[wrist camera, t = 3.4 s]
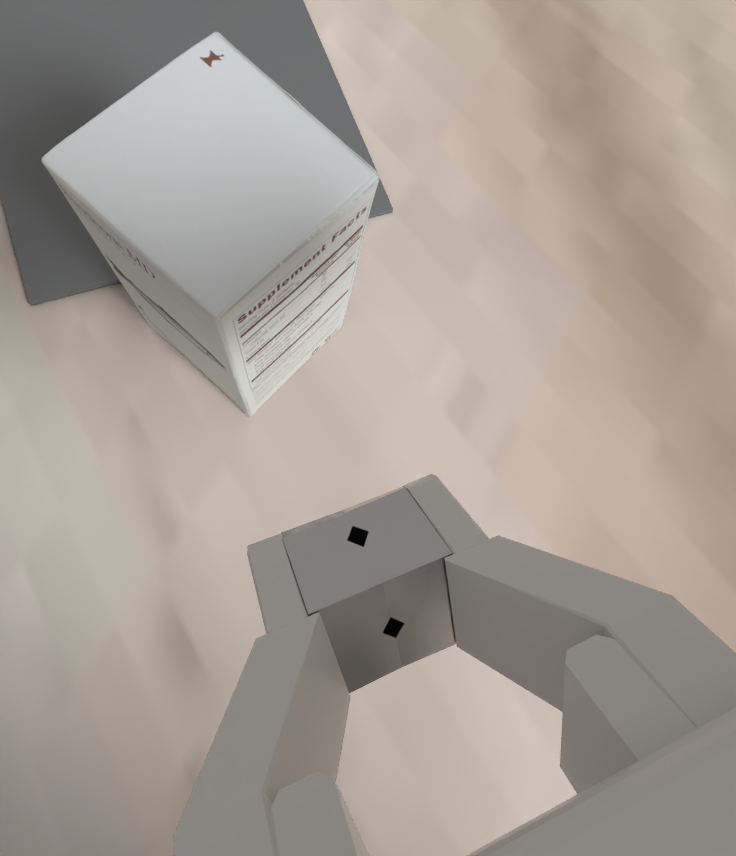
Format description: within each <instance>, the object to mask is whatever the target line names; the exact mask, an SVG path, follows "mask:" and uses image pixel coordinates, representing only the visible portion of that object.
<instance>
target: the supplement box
mask: <svg viewBox="0 0 736 856" xmlns="http://www.w3.org/2000/svg"><path fill="white" fill-rule="evenodd" d="M42 163H43V165H44V166H45V167H46V169H47V170H48V171H49V173H50V174H51V176H52V177H53V179H54V181H55V182H56V184H57V185H58V187H59V188H60V190H61V191H62V193H63V194H64V196H65V197H66V199H67V200H68V202H69V203H70V205H71V206H72V208H73V209H74V211H75V213H76V214H77V216H78V217H79V219H80V220H81V222H82V223H83V225H84V226H85V228H86V229H87V231H88V232H89V234H90V235H91V237H92V238H93V240H94V242H95V243H96V245H97V246H98V248H99V249H100V251H101V252H102V254H103V255H104V257H105V259H106V260H107V262H108V263H109V265H110V266H111V268H112V270H113V271H114V273H115V274H116V276H117V277H118V279H119V280H120V282H121V283H122V285H123V286H124V288H125V289H126V291H127V292H128V294H129V295H130V297H131V298H132V300H133V302H134V303H135V305H136V306H137V308H138V309H139V311H140V312H141V314H142V315H143V317H144V318H145V320H146V321H147V323H148V324H149V326H150V327H151V328H152V329H154V330H155V331H156V332H157V333H158V334H160V335H161V336H162V337H163V338H165V339H166V340H167V341H168V342H169V343H170V344H172V345H173V346H174V347H175V348H176V349H177V350H179V351H180V352H181V353H182V354H183V355H184V356H185V357H186V358H187V359H189V360H190V361H191V362H192V363H193V364H194V365H195V366H196V367H197V368H198V369H199V370H201V371H202V372H203V373H204V374H205V375H206V376H207V377H208V378H209V379H210V380H211V381H212V382H213V383H214V384H216V385H217V386H218V387H219V388H220V389H221V390H222V391H223V392H224V393H225V394H226V395H227V396H228V397H229V398H230V399H231V400H232V401H233V402H234V403H235V404H236V405H237V406H238V407H239V408H240V409H241V410H242V411H243V412H244V413H245V414H246V415H247V416H249V417H251V416H253V415H254V413H255V412H256V411H257V410H258V409H259V408H260V407H261V406H262V405H263V404H264V403H265V402H266V401H267V400H268V399H269V398H270V397H271V396H272V395H273V394H274V393H275V392H276V391H277V390H278V389H279V388H280V387H281V386H282V385H283V384H284V383H285V382H286V381H287V380H288V379H289V378H290V377H291V376H292V375H293V374H294V373H295V372H296V371H297V370H298V369H299V368H300V367H301V366H302V365H303V364H304V363H305V362H306V361H307V360H308V359H309V358H310V357H312V356H313V355H314V353H316V352H317V351H318V350H319V349H320V348H321V347H322V346H323V345H324V344H325V343H326V342H327V341H328V340H329V339H330V338H331V337H332V336H333V335H334V334H335V333H336V332H337V331H338V330H339V329H340V328H341V326H342V325H343V320H344V317H345V313H346V309H347V306H348V302H349V298H350V293H351V289H352V285H353V281H354V277H355V273H356V269H357V264H358V260H359V256H360V251H361V247H362V243H363V238H364V234H365V230H366V226H367V222H368V218H369V213H370V209H371V206H372V202H373V198H374V195H375V192H376V189H377V185H378V182H379V175H378V173H377V172H376V171H375V169H374V168H373V167H372V166H370V165H369V164H368V163H367V162H366V161H364V160H363V159H362V158H361V157H360V156H359V155H358V154H357V153H355V152H354V151H353V150H352V149H350V148H349V147H348V146H347V145H346V144H345V143H344V142H342V141H341V140H340V139H339V138H338V137H337V136H336V135H335V134H333V133H332V132H331V131H330V130H329V129H328V128H327V127H325V126H324V125H323V124H322V123H321V122H320V121H318V120H317V119H316V118H315V117H314V116H313V115H312V114H310V113H309V112H308V111H307V110H306V109H305V108H304V107H303V106H302V105H300V103H299V102H298V101H297V100H296V99H294V98H293V97H292V96H291V95H290V94H288V93H287V92H286V91H284V90H283V89H282V88H281V87H280V86H278V85H277V84H276V83H275V82H274V81H273V80H272V79H271V78H269V77H268V76H267V75H266V74H265V73H264V72H262V71H261V70H260V69H259V68H258V67H257V66H256V65H254V64H253V63H252V62H251V61H250V60H249V59H248V58H247V57H245V56H244V55H243V54H242V53H241V52H240V51H239V50H237V49H236V48H235V47H234V46H233V45H232V44H231V43H230V42H228V41H227V40H226V39H225V38H224V37H223V36H222V35H221V34H220V33H219V32H213V33H212V34H210V35H209V36H208V37H206V38H205V39H203V40H202V41H200V42H198V43H197V44H195V45H194V46H192V47H191V48H190V49H188V50H187V51H185V52H184V53H182V54H181V55H180V56H178V57H177V58H175V59H174V60H173V61H171V62H170V63H169V64H167V65H166V66H164V67H163V68H162V69H160V70H159V71H158V72H156V73H155V74H154V75H152V76H151V77H149V78H148V79H146V80H145V81H144V82H142V83H141V84H140V85H138V86H137V87H136V88H134V89H133V90H132V91H130V92H129V93H127V94H126V95H125V96H123V97H122V98H120V99H119V100H118V101H116V102H115V103H113V104H112V105H111V106H109V107H108V108H107V109H105V110H104V111H103V112H101V113H100V114H98V115H97V116H96V117H94V118H93V119H92V120H90V121H89V122H88V123H86V124H85V125H84V126H82V127H80V128H79V129H78V130H76V131H75V132H74V133H72V134H71V135H69V136H68V137H66V138H65V139H64V140H63V141H61V142H60V143H59V144H57V145H56V146H55V147H54V148H52V149H51V150H50V151H49V152H48V153H47V154H45V155H44V156H43V157H42Z"/></svg>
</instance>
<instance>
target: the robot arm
mask: <svg viewBox="0 0 736 856" xmlns="http://www.w3.org/2000/svg"><path fill="white" fill-rule="evenodd" d="M281 535H282V537H281ZM282 538H283V539H282ZM247 555H248V559H249V563H250V567H251V572H252V576H253V580H254V584H255V588H256V592H257V597H258V601H259V605H260V609H261V613H262V617H263V622H264V626H265V630H266V635H263V636H261V637H259V638H257V639H256V640H255V642H254V645H253V647H252V650H251V652H250V654H249V657H248V659H247V662H246V664H245V666H244V669H243V671H242V674H241V676H240V678H239V681H238V683H237V686H236V688H235V690H234V693H233V695H232V698H231V700H230V702H229V705H228V707H227V710H226V712H225V714H224V717H223V719H222V722H221V724H220V726H219V729H218V731H217V733H216V736H215V738H214V741H213V743H212V745H211V748H210V750H209V753H208V755H207V757H206V760H205V762H204V765H203V767H202V769H201V772H200V774H199V777H198V779H197V781H196V784H195V786H194V789H193V791H192V793H191V796H190V798H189V801H188V803H187V805H186V808H185V810H184V813H183V815H182V817H181V820H180V822H179V825H178V827H177V829H176V832H175V834H174V856H370V855H369V853H368V851H367V848H366V846H365V844H364V842H363V840H362V838H361V835H360V833H359V831H358V829H357V827H356V825H355V822H354V820H353V818H352V816H351V814H350V812H349V809H348V807H347V805H346V803H345V801H344V799H343V796H342V794H341V792H340V790H339V788H338V786H337V783H336V778H337V772H338V767H339V761H340V755H341V749H342V743H343V737H344V732H345V726H346V720H347V714H348V708H349V703H350V694H349V693H351V692H353V691H355V690H357V689H359V688H361V687H363V686H365V685H367V684H369V683H371V682H373V681H375V680H377V679H379V678H381V677H383V676H385V675H387V674H389V673H391V672H393V671H395V670H397V669H399V668H401V667H403V666H406V665H408V664H410V663H413V662H415V661H417V660H420V659H422V658H424V657H426V656H429V655H431V654H433V653H436V652H438V651H440V650H443V649H445V648H447V647H450V646H452V645H454V644H457V647H459V648H460V649H462V650H463V651H465V652H467V653H468V654H470V655H471V656H473V657H475V658H476V659H478V660H480V661H481V662H483V663H484V664H486V665H488V666H489V667H491V668H492V669H494V670H496V671H497V672H499V673H501V674H502V675H504V676H505V677H507V678H509V679H510V680H512V681H513V682H515V683H517V684H518V685H520V686H522V687H523V688H525V689H526V690H528V691H530V692H531V693H533V694H534V695H536V696H538V697H539V698H541V699H543V700H544V701H546V702H547V703H549V704H551V705H552V706H554V707H555V708H557V709H559V710H560V711H562V712H563V718H562V737H561V757H560V767H561V769H562V770H563V772H564V774H565V775H566V777H567V778H568V780H569V782H570V783H571V785H572V786H573V788H574V789H575V791H576V793H577V795H575V796H574V797H572V798H570V799H568V800H566V801H565V802H563V803H561V804H559V805H557V806H555V807H554V808H552V809H550V810H548V811H546V812H545V813H543V814H541V815H539V816H537V817H536V818H534V819H532V820H530V821H528V822H527V823H525V824H523V825H521V826H519V827H517V828H516V829H514V830H512V831H510V832H508V833H507V834H505V835H503V836H501V837H499V838H498V839H496V840H494V841H492V842H490V843H489V844H487V845H485V846H483V847H481V848H480V849H478V850H476V851H474V852H472V853H470V854H469V855H467V856H736V653H735V652H734V651H733V650H732V649H731V648H729V647H728V646H727V645H726V644H725V643H724V642H723V641H722V640H721V639H720V638H718V637H717V636H716V635H715V634H714V633H713V632H712V631H711V630H710V629H708V628H707V627H706V626H705V625H704V624H703V623H702V622H701V621H700V620H698V619H697V618H696V617H695V616H694V615H693V614H692V613H691V612H690V611H689V610H687V609H686V608H685V607H684V606H683V605H682V604H681V603H680V602H679V601H677V600H676V599H675V598H674V597H673V596H672V595H669V594H666V593H663V592H660V591H657V590H654V589H652V588H649V587H646V586H643V585H640V584H637V583H634V582H631V581H628V580H626V579H623V578H620V577H617V576H614V575H611V574H608V573H605V572H602V571H600V570H597V569H594V568H591V567H588V566H585V565H582V564H579V563H576V562H574V561H571V560H568V559H565V558H562V557H559V556H556V555H553V554H550V553H548V552H545V551H542V550H539V549H536V548H533V547H530V546H527V545H524V544H522V543H519V542H516V541H513V540H510V539H507V538H504V537H501V536H496V537H494V538H491V539H489V538H488V537H487V536H486V535H485V533H484V532H483V531H482V530H481V529H480V527H479V526H478V525H477V524H476V523H475V521H474V520H473V519H472V518H471V517H470V515H469V514H468V513H467V512H466V511H465V509H464V508H463V507H462V506H461V505H460V503H459V502H458V501H457V500H456V499H455V497H454V496H453V495H452V494H451V493H450V491H449V490H448V489H447V488H446V487H445V485H444V484H443V483H442V482H441V481H440V479H439V478H438V477H437V476H435V475H433V474H430V475H428V476H426V477H423V478H421V479H418V480H416V481H413V482H411V483H409V484H406V485H404V486H403V487H400V488H398V489H395V490H393V491H390V492H388V493H385V494H383V495H380V496H378V497H375V498H373V499H370V500H368V501H365V502H363V503H360V504H357V505H355V506H352V507H350V508H347V509H345V510H343V511H340V512H337V513H334V514H332V515H329V516H326V517H323V518H321V519H318V520H315V521H312V522H310V523H307V524H304V525H301V526H299V527H296V528H293V529H290V530H288V531H285V532H282V533H281V534H278V535H276V536H273V537H270V538H267V539H265V540H262V541H259V542H256V543H254V544H251V545H248V546H247Z"/></svg>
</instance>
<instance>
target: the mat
mask: <svg viewBox="0 0 736 856" xmlns="http://www.w3.org/2000/svg"><path fill="white" fill-rule="evenodd" d="M213 32H219V33H220V34H221V35H222V36H223V37H224V38H225V39H226V40H227V41H228V42H230V43H231V44H232V45H233V46H234V47H235V48H236V49H237V50H239V51H240V52H241V53H242V54H243V55H244V56H245V57H247V58H248V59H249V60H250V61H251V62H252V63H253V64H254V65H256V66H257V67H258V68H259V69H260V70H261V71H262V72H264V73H265V74H266V75H267V76H268V77H269V78H271V79H272V80H273V81H274V82H275V83H276V84H277V85H278V86H280V87H281V88H282V89H283V90H284V91H286V92H287V93H288V94H290V95H291V96H292V97H293V98H294V99H296V100H297V101H298V102H299V103H300V105H302V106H303V107H304V108H305V109H306V110H307V111H308V112H309V113H310V114H312V115H313V116H314V117H315V118H316V119H317V120H318V121H320V122H321V123H322V124H323V125H324V126H325V127H327V128H328V129H329V130H330V131H331V132H332V133H333V134H335V135H336V136H337V137H338V138H339V139H340V140H341V141H342V142H344V143H345V144H346V145H347V146H348V147H349V148H350V149H352V150H353V151H354V152H355V153H357V154H358V155H359V156H360V157H361V158H362V159H363V160H364V161H366V162H367V163H368V164H369V165H370V166H372V167H373V168H374V169H375V166H374V164H373V162H372V159H371V157H370V155H369V152H368V150H367V148H366V145H365V143H364V141H363V138H362V136H361V134H360V132H359V129H358V127H357V125H356V122H355V120H354V118H353V115H352V113H351V111H350V108H349V106H348V104H347V101H346V99H345V97H344V94H343V92H342V90H341V87H340V85H339V83H338V80H337V78H336V76H335V74H334V71H333V69H332V67H331V64H330V62H329V60H328V57H327V55H326V53H325V50H324V48H323V46H322V43H321V41H320V39H319V36H318V34H317V32H316V29H315V27H314V25H313V23H312V20H311V18H310V16H309V13H308V11H307V9H306V6H305V4H304V2H303V0H0V197H1V201H2V205H3V209H4V212H5V216H6V220H7V224H8V227H9V231H10V235H11V239H12V242H13V246H14V250H15V254H16V258H17V261H18V265H19V269H20V273H21V276H22V280H23V284H24V288H25V291H26V295H27V299H28V303H29V304H30V305H35V304H39V303H43V302H46V301H50V300H54V299H58V298H62V297H66V296H70V295H74V294H77V293H81V292H85V291H89V290H93V289H97V288H101V287H105V286H109V285H112V284H116V283H120V280H119V279H118V277H117V276H116V274H115V273H114V271H113V270H112V268H111V266H110V265H109V263H108V262H107V260H106V259H105V257H104V255H103V254H102V252H101V251H100V249H99V248H98V246H97V245H96V243H95V242H94V240H93V238H92V237H91V235H90V234H89V232H88V231H87V229H86V228H85V226H84V225H83V223H82V222H81V220H80V219H79V217H78V216H77V214H76V213H75V211H74V209H73V208H72V206H71V205H70V203H69V202H68V200H67V199H66V197H65V196H64V194H63V193H62V191H61V190H60V188H59V187H58V185H57V184H56V182H55V181H54V179H53V177H52V176H51V174H50V173H49V171H48V170H47V169H46V167H45V166H44V165H43V163H42V157H43V156H44V155H45V154H47V153H48V152H49V151H50V150H51V149H52V148H54V147H55V146H56V145H57V144H59V143H60V142H61V141H63V140H64V139H65V138H66V137H68V136H69V135H71V134H72V133H74V132H75V131H76V130H78V129H79V128H80V127H82V126H84V125H85V124H86V123H88V122H89V121H90V120H92V119H93V118H94V117H96V116H97V115H98V114H100V113H101V112H103V111H104V110H105V109H107V108H108V107H109V106H111V105H112V104H113V103H115V102H116V101H118V100H119V99H120V98H122V97H123V96H125V95H126V94H127V93H129V92H130V91H132V90H133V89H134V88H136V87H137V86H138V85H140V84H141V83H142V82H144V81H145V80H146V79H148V78H149V77H151V76H152V75H154V74H155V73H156V72H158V71H159V70H160V69H162V68H163V67H164V66H166V65H167V64H169V63H170V62H171V61H173V60H174V59H175V58H177V57H178V56H180V55H181V54H182V53H184V52H185V51H187V50H188V49H190V48H191V47H192V46H194V45H195V44H197V43H198V42H200V41H202V40H203V39H205V38H206V37H208V36H209V35H210V34H212V33H213ZM375 171H376V169H375ZM376 172H377V171H376ZM392 211H393V208H392V206H391V203H390V201H389V199H388V196H387V194H386V192H385V190H384V187H383V185H382V183H381V180H380V178H379V182H378V185H377V189H376V192H375V195H374V198H373V202H372V206H371V209H370V213H369V218H372V217H376V216H380V215H384V214H388V213H392Z"/></svg>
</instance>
